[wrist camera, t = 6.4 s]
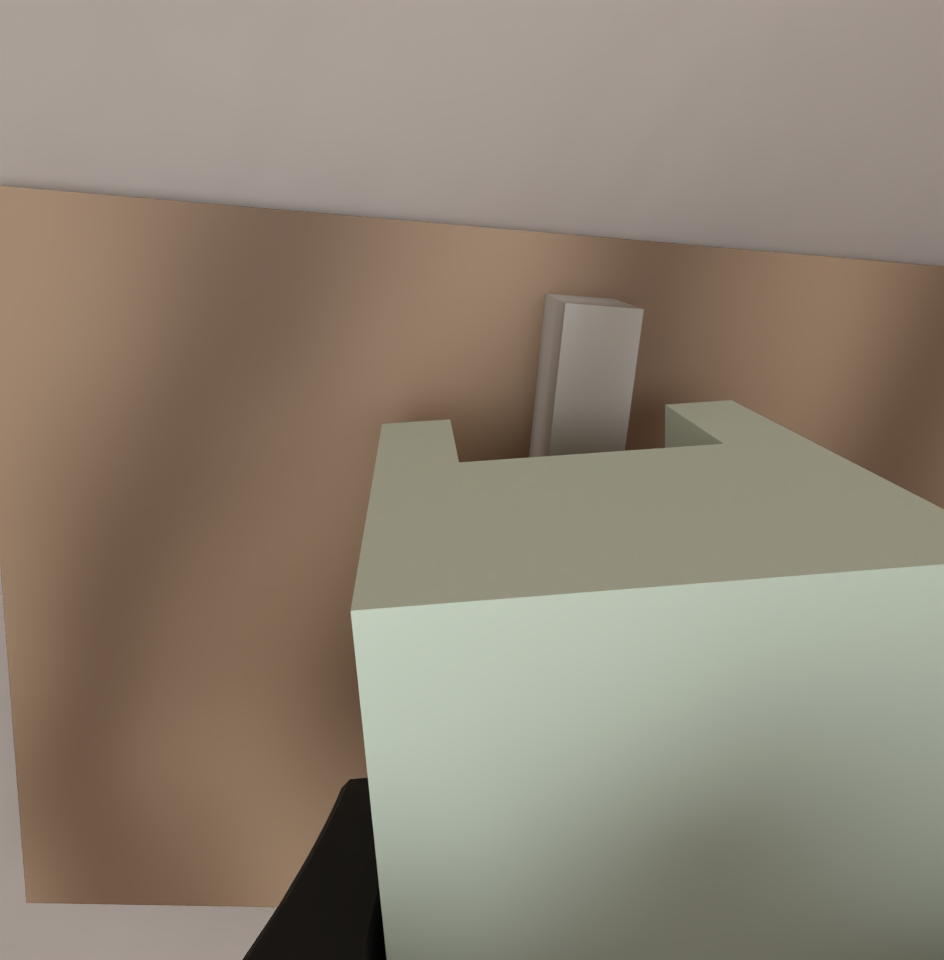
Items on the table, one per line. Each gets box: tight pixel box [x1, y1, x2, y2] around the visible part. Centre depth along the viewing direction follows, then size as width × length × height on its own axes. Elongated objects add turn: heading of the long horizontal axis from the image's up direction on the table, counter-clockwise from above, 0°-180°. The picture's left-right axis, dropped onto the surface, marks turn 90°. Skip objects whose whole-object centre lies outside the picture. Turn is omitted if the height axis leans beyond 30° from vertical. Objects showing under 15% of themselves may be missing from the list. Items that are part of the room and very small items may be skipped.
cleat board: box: [0, 186, 944, 907], centre depth 16 cm, size 20×14×3 cm
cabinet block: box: [351, 400, 944, 960], centre depth 11 cm, size 5×8×6 cm, turn 3°
